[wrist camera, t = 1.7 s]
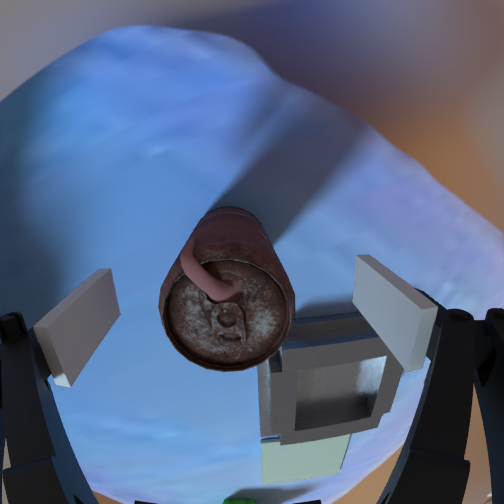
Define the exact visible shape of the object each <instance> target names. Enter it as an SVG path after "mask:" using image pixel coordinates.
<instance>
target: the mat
mask: <svg viewBox="0 0 504 504" xmlns="http://www.w3.org/2000/svg"><path fill="white" fill-rule="evenodd" d="M349 438H350V434H348V435H343V436H338V437H333V438H328V439H322V440H316V441H310V442H304V443H297V444H289V445H281V446H280V441H279V438H278V439H268V440H261V459H262V482H263V485H265V484H276V483H284V482H292V481H299V480H306V479H312V478H317V477H323V476H328V475H333V474H337V473H339V470H340V467H341V464H342V461H343V458H344V455H345V451H346V448H347V445H348V441H349Z"/></svg>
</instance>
